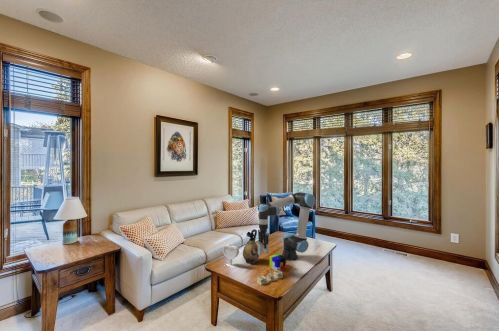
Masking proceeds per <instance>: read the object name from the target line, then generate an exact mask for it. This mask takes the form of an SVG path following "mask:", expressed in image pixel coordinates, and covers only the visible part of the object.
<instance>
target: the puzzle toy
mask: <svg viewBox="0 0 499 331" xmlns="http://www.w3.org/2000/svg"><path fill="white" fill-rule="evenodd" d="M286 263H287V260H286V257H284V256H282V254H279V253H275V254H273V255H270V256H269V268H270V269H271V270H273V271H274V272H275V271H278V270H279V271H283V270H286V268H287V264H286Z"/></svg>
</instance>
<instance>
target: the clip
mask: <svg viewBox="0 0 499 331" xmlns="http://www.w3.org/2000/svg"><path fill="white" fill-rule="evenodd" d="M263 244H264V241H263V242H258V243H257V246H258V255H259V256H262V255H263V251H262V248H263ZM269 246H270V245H269V241H268V244H267V245H266V252H264V254H267V255H268V254H269Z"/></svg>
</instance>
